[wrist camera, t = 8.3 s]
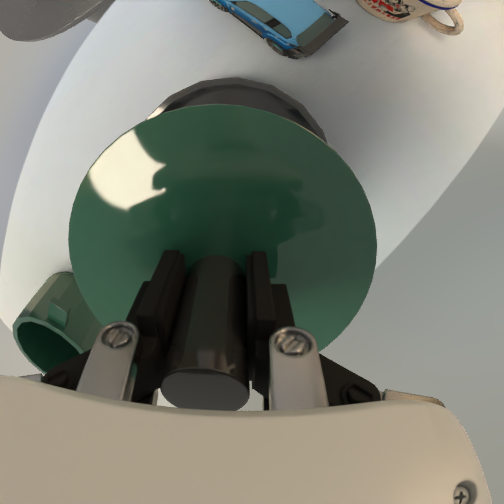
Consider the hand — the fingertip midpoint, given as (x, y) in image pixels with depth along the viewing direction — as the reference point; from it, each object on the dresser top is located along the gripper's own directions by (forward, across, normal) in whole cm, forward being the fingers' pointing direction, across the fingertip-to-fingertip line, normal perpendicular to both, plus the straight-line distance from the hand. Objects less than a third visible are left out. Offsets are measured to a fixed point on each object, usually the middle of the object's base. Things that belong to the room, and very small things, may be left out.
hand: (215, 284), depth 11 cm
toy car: (+19, -3, -17) cm, 25 cm away
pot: (+18, +22, +18) cm, 34 cm away
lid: (+1, 0, 0) cm, 1 cm away
